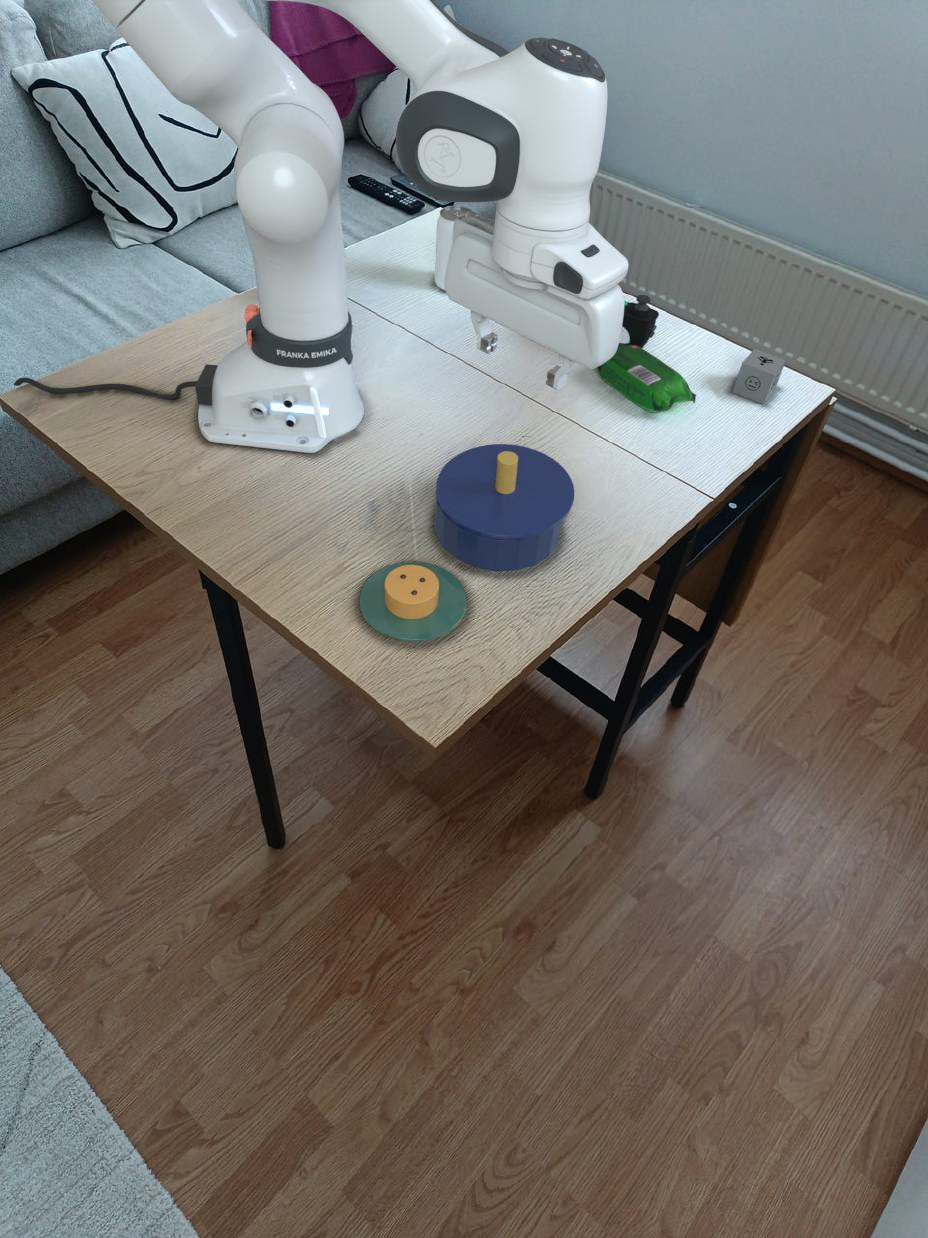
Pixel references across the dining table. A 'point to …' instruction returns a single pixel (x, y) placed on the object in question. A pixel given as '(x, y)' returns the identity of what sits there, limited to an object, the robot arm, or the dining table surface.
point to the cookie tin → (493, 546)
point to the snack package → (645, 379)
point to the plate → (414, 629)
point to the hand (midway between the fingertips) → (520, 367)
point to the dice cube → (758, 376)
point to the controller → (639, 321)
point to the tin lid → (505, 491)
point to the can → (445, 240)
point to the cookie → (411, 591)
